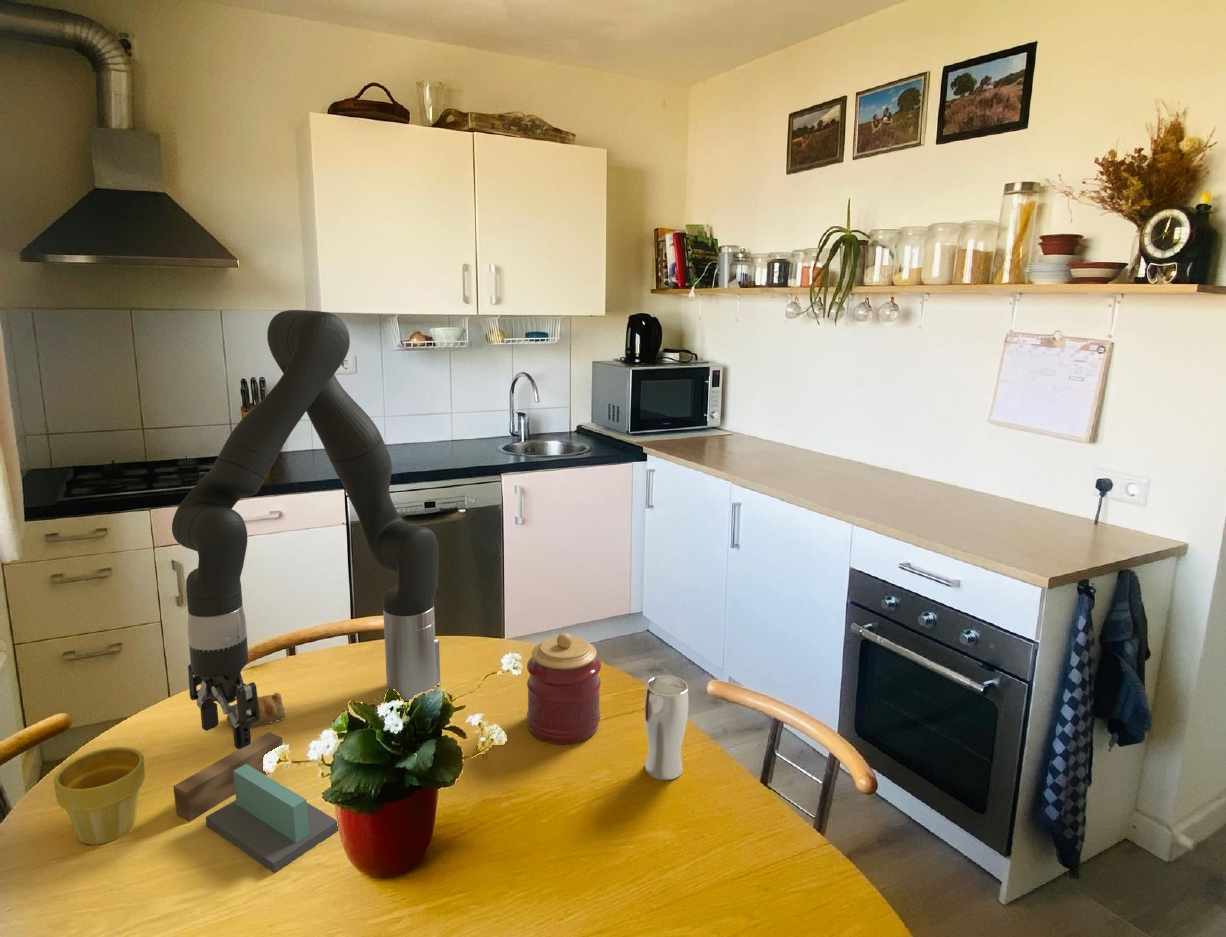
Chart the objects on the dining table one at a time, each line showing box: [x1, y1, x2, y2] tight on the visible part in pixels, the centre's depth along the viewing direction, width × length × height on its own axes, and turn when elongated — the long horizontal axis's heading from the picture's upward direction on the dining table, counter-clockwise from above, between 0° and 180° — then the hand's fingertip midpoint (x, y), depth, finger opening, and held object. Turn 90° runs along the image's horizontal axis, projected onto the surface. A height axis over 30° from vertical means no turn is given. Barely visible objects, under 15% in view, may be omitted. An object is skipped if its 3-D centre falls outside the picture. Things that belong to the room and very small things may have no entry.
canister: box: [526, 632, 602, 745], centre depth 133 cm, size 13×13×18 cm
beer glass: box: [644, 674, 689, 781], centre depth 122 cm, size 7×7×15 cm
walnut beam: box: [172, 731, 284, 823], centre depth 116 cm, size 16×3×5 cm, turn 152°
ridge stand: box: [205, 764, 339, 874], centre depth 107 cm, size 10×16×7 cm, turn 57°
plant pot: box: [53, 746, 146, 846], centre depth 106 cm, size 10×10×10 cm
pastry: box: [226, 692, 286, 728], centre depth 135 cm, size 9×7×4 cm
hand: (226, 736), depth 114 cm, fingers open, 8 cm apart
